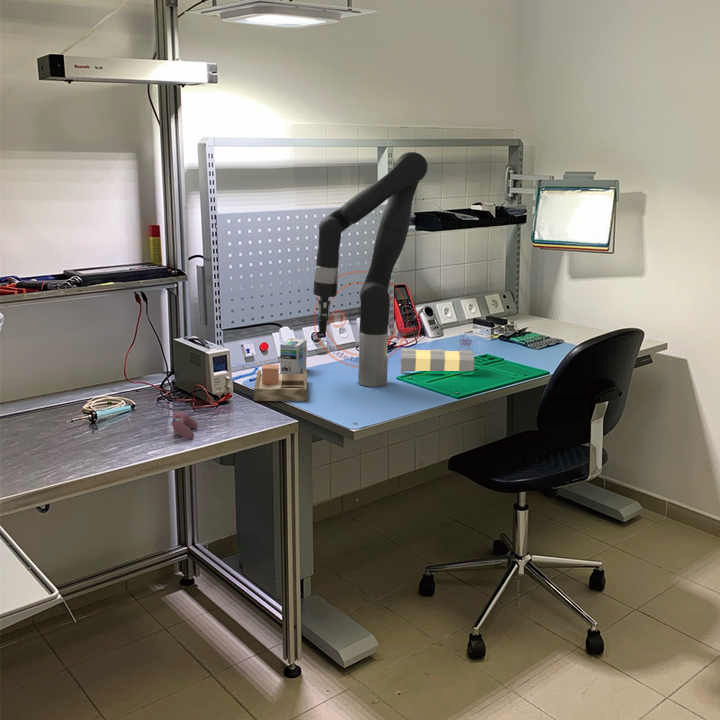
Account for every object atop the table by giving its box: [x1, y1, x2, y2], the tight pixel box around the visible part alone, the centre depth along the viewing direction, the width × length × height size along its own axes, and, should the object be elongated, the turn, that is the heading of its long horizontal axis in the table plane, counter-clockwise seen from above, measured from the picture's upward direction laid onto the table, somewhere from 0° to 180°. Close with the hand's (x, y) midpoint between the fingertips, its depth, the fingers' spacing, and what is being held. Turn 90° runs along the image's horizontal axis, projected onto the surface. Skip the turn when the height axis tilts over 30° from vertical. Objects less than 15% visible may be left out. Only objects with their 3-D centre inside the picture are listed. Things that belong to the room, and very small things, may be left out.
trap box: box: [253, 369, 308, 402], centre depth 255 cm, size 16×22×4 cm
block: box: [261, 364, 280, 384], centre depth 255 cm, size 5×5×5 cm
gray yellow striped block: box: [400, 333, 475, 373], centre depth 282 cm, size 25×10×13 cm, turn 87°
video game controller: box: [171, 410, 198, 440], centre depth 213 cm, size 10×5×7 cm, turn 5°
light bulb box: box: [279, 338, 308, 374], centre depth 277 cm, size 11×7×11 cm, turn 168°
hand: (322, 330), depth 261 cm, fingers open, 8 cm apart
